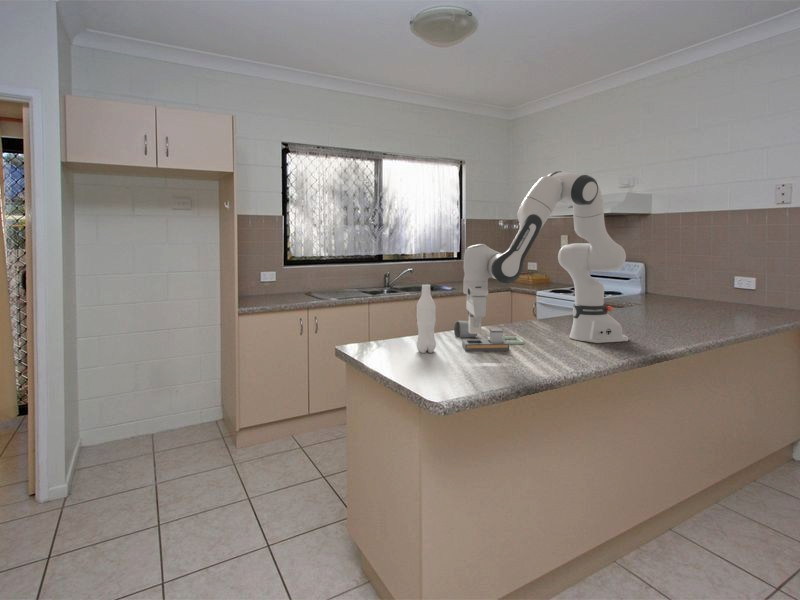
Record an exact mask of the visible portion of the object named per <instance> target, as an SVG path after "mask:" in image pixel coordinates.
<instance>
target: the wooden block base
mask: <svg viewBox="0 0 800 600" xmlns="http://www.w3.org/2000/svg"><path fill="white" fill-rule="evenodd" d="M461 342H462V343H461V344H462V345H461V347H462V349H464V351H465V352H496V351H497V352H502V351H503V352H504V351H508V352H509V351H510V344H509V343H508V342H509V341H507V339H503V343H490V339H488V338H486V339H485V338H484V339H483V338H482V339H462V340H461Z"/></svg>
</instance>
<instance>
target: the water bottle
mask: <svg viewBox="0 0 800 600" xmlns="http://www.w3.org/2000/svg"><path fill="white" fill-rule="evenodd" d="M431 291H432V289H431V285H430V284H422V285H421V290H420V292H421V294H420V297H419V299H418V302H417V303H416V307H415V308H416V325H417V330H418V334H417V341H416V348H417V351H418V352H419V353H422V354H426V352H428V353H429V354H432V353H433V352H434V351H435V349H436V347H437V343H436V338H435V325H436V322H437V321H436V318H437V316H436V314H437V313H436V312H437V311H436V309H437V306H436V303H435V301H434V299H433V297H432V295H431V294H432V293H431Z"/></svg>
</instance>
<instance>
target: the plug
mask: <svg viewBox="0 0 800 600" xmlns="http://www.w3.org/2000/svg"><path fill="white" fill-rule="evenodd" d="M467 321H468V332H469V333H470V334H477V335H478V334H479V335H480V334H482V318H480V322H479V327H478V328H475V327H474V316H473V315H472V314H471V313H470V312H469V313H468V320H467Z"/></svg>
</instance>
